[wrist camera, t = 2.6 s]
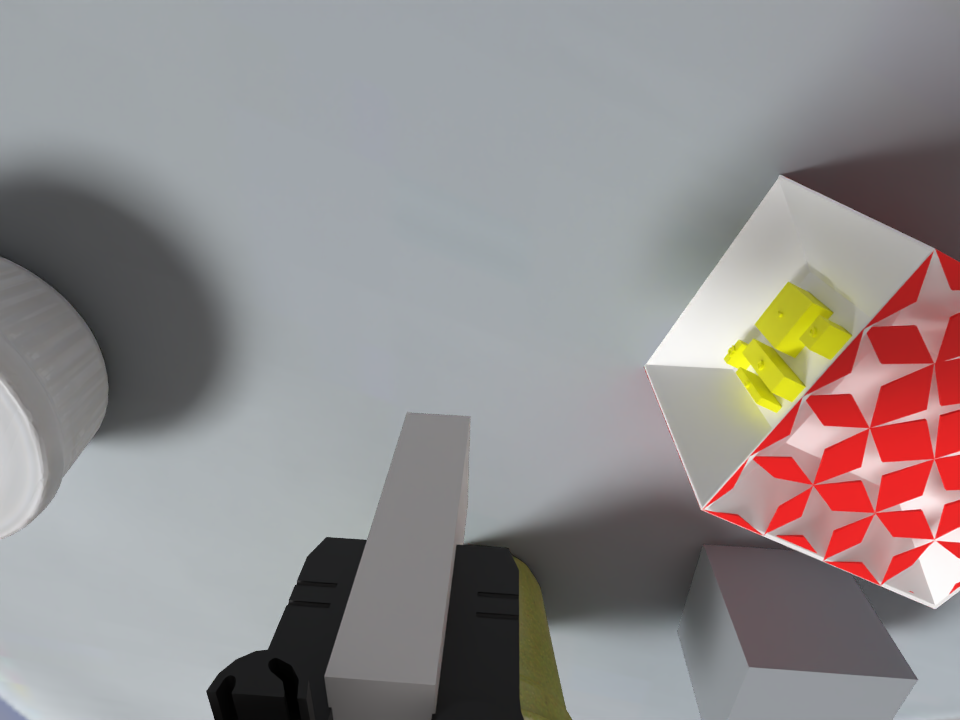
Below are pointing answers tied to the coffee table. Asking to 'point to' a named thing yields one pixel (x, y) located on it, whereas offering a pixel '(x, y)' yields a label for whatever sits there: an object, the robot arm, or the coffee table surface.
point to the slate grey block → (786, 640)
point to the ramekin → (42, 393)
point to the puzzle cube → (825, 392)
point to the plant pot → (537, 655)
